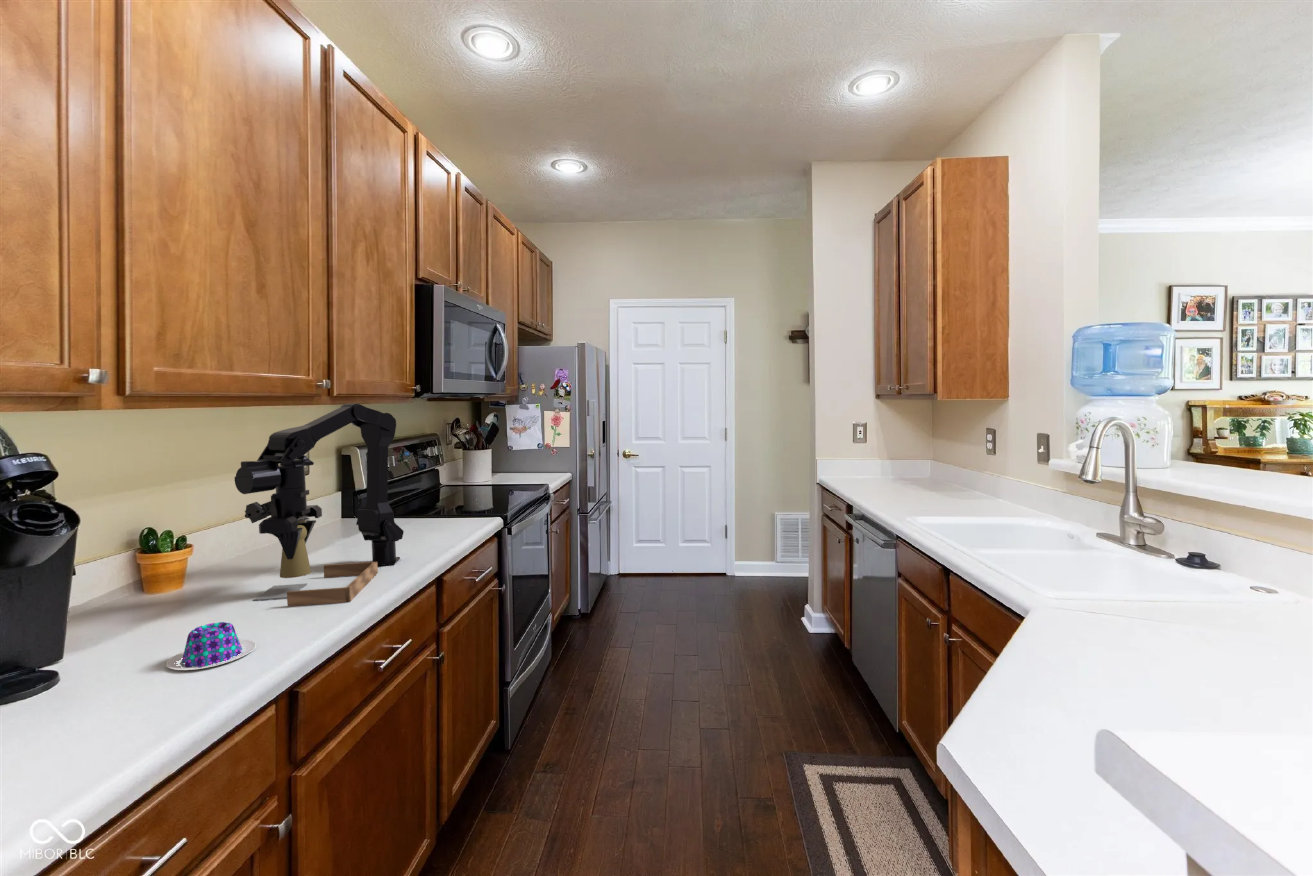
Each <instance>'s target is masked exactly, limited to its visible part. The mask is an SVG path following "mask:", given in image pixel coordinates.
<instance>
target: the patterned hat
mask: <svg viewBox="0 0 1313 876" xmlns="http://www.w3.org/2000/svg"><path fill="white" fill-rule="evenodd" d="M235 629H236V628H235V626H234V625H233V624H232V623H230V622H224V621H221V622H212V623H207V624H205V625H200V626H197V627H195V628H194V629H192V630H191V631H190V632H189V633H188V635H187V639H186V642H185V647H184V650H183V651H181V652H179V653H177V654H175V655H173V656H172V657H170V658H169V659H168V660H167V661H166V664H165V665H166V667H167V668H168V669H171V670H175V671H193V670H194V671H195V670H200V669H201V670H202V669H207V668H212V667H216V666H217V667H218V666H221V665H223V664H227V663H231V662H233V661H236V660H237V659H240V658H242V657H245V656H246V655H248V654H250V653H251V652H252V651H254V650H255V649H256V647H257V644H256V643H257V642H255V641H253V640H249V639H239V637H238V634H237V632H236V630H235ZM242 645H244V646H242ZM242 647H245V648H244V649H246V650H245V651H244V652H243V648H242ZM242 652H243V654H242V655H240V656H239V655H238V654H240V653H242ZM237 655H238V656H239V657H237ZM233 656H236V657H237V658H235V657H233ZM231 657H232V658H231ZM181 658H183V659H182V662H181V664H182V663H185V664H183V666H184V665H185V666H186V667H188V668H181V666H176V665H178V664H176V663H177V662H176V661H179V660H181ZM230 658H231V659H232V660H231V659H230ZM233 658H235V659H233ZM229 659H230V661H229ZM226 660H228V662H226ZM222 661H225V662H224V663H223V662H222ZM218 662H222V663H221V664H219V663H218ZM174 663H175V664H174ZM213 663H215V664H213ZM211 664H212V665H213V666H211ZM216 664H217V665H216ZM208 665H209V666H208ZM185 666H184V667H185ZM192 666H194V667H192ZM197 666H198V667H202V666H205V667H202V668H198V667H197ZM206 666H207V667H206Z"/></svg>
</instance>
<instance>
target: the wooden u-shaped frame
mask: <svg viewBox="0 0 1313 876" xmlns="http://www.w3.org/2000/svg"><path fill="white" fill-rule="evenodd" d="M378 568H379V567H378V564H377V562H371V561H367V562H352V563H351V562H350V563H349V562H348V563H335V564H332V563H331V564H324V565H323V578H324V579H328V578H342V576H345V577H355V579H353V580H352V581H351V582H350V583H349V584H348V585H347V586H345V587H343V586H342V587H333V588H332V587H331V588H329V587H328V588H318V589H317V588H316V589H303V590H302V589H301V590H299V591H288V592H287V599H286V603H287V605H286V606H287V607H288V606H290V607H301V606H300V605H303V606H310V605H309V604H317V605H326V604H325V603H330V604H338V603H339V604H342V603H350V602H351V601H353V600H354V598H356V597H357V595H358V594H359V593H361V591H362V590H363V589H364V588H365V587H366V586H367V585H368V584H369V583H370V582H372V580H373V579H374V578H375V577H376V576H377V575H378V574H379V571H378V570H379V569H378ZM377 573H378V574H377ZM376 574H377V575H376ZM340 576H341V577H340ZM374 576H375V577H374ZM371 579H372V580H371Z"/></svg>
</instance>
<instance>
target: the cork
mask: <svg viewBox="0 0 1313 876" xmlns="http://www.w3.org/2000/svg"><path fill="white" fill-rule="evenodd" d="M297 528H302V532H301V535H300V538H299V542H298V545H297V549H296V552H295V555H294V557H293V559H287V557H286V555H285V553H284V550H283V548H282V547H281V548H282V549H281V557H280V559H281V560H280V561H281V562H280V569H279V571H280V572H279V578H282V579H293V578H300V577H303V576H304V577H305V576H307V575H310V574H311V573H312V570H311V564H310V560H309V555H308V551H307V545H306V544H305V540H304V539H305V537H306V535H307V530H306V528H305V527H304V526H302V525H298V526H297Z"/></svg>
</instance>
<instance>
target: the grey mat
mask: <svg viewBox="0 0 1313 876" xmlns="http://www.w3.org/2000/svg"><path fill="white" fill-rule="evenodd" d="M307 585H308V583H294V584H293V583H292V584H280V585H279V584H278V585H273V586H271V587H269V588H268V589H267V590H265V591H264V592H262V593H260V594H259V595H258V596H256V597H254V598H253V599H252V601H253V602H257V601H258V600H261V601H269V600H268V599H274V600H287V592H288V591H300V589H301V588H302V589H303V588H304V586H305V587H306V586H307ZM302 589H301V590H302Z"/></svg>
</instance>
